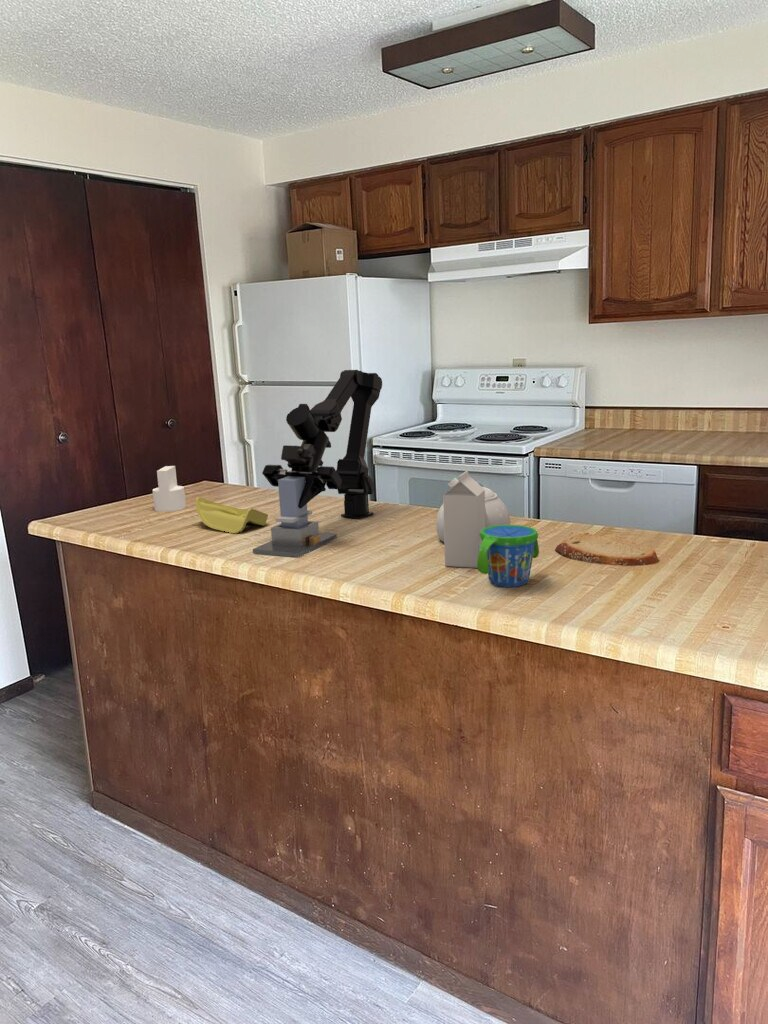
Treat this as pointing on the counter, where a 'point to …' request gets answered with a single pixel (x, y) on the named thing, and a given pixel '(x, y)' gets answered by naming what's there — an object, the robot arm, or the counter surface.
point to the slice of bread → (606, 551)
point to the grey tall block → (292, 503)
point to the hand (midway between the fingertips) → (290, 506)
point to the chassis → (294, 540)
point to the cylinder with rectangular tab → (168, 491)
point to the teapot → (493, 513)
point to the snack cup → (507, 554)
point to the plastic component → (227, 516)
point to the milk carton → (463, 521)
